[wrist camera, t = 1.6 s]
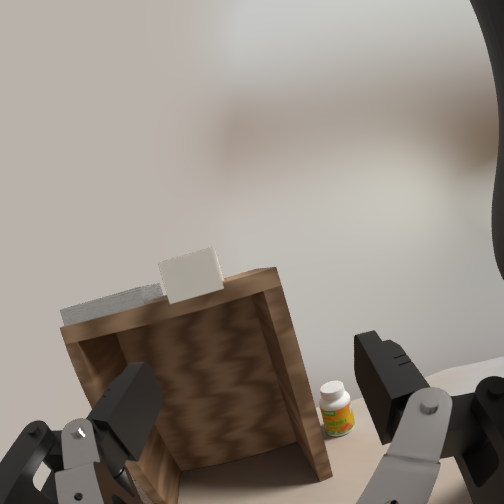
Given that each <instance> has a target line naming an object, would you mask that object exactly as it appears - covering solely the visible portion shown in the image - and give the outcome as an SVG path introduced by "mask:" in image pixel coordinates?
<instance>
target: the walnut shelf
mask: <svg viewBox="0 0 504 504" xmlns="http://www.w3.org/2000/svg"><path fill="white" fill-rule="evenodd" d="M222 283H223V286H224V289H221V290H218V291H214V292H211V293H207V294H204V295H200V296H197V297H193V298H190V299H186V300H183V301H179V302H176V303H172V304H170V303H169V300H168V297H167V295H166V296H163V297H161V298H159V299H157V300H155V301H153V302H150V303H148V304H146V305H143V306H140V307H136V308H133V309H129V310H125V311H122V312H118V313H114V314H110V315H107V316H103V317H99V318H95V319H91V320H88V321H84V322H80V323H76V324H72V325H68V326H64V327H61V328H60V330H61V333H62V336H63V339H64V342H65V345H66V348H67V351H68V354H69V356H70V359H71V362H72V364H73V367H74V369H75V372H76V374H77V377H78V379H79V381H80V383H81V386H82V388H83V390H84V393H85V395H86V397H87V399H88V401H89V403H90V405H91V407H92V409H93V408H94V406H95V405H96V403H97V402H98V400H99V399H100V397H102V395H103V393H104V392H105V391H107V387H108V386H109V385H110V383H111V382H112V381H113V380H114V379H115V378H116V377H118V376H119V375H120V374H122V372H123V371H124V369H125V368H126V367H127V365H128V364H129V363H136V362H147V363H148V364H149V365H150V366H151V368H152V371H153V373H154V375H155V377H156V379H157V381H158V383H159V385H160V388H161V390H162V392H163V404H162V407H161V409H160V412H159V414H158V416H157V419H156V421H155V423H154V426H153V428H152V430H151V433H150V435H149V438H148V440H147V442H146V445H145V447H144V449H143V452H142V454H141V457H140V459H139V462H135V461H130V460H126V462H125V465H126V467H127V468H128V470H129V472H130V473H131V474H132V476H133V477H134V479H135V480H136V481H137V483H138V484H139V485H140V487H141V488H142V489H143V491H144V492H145V493H146V494H147V496H148V497H149V498H150V499H151V501H152V502H153V503H157V504H178V495H179V486H180V477H181V471H184V470H190V469H196V468H202V467H207V466H212V465H217V464H222V463H226V462H231V461H235V460H239V459H243V458H247V457H250V456H254V455H257V454H261V453H264V452H267V451H270V450H274V449H277V448H280V447H283V446H286V445H288V444H291V443H294V442H298V444H299V446H300V448H301V449H302V451H303V453H304V455H305V457H306V458H307V460H308V462H309V464H310V465H311V467H312V469H313V470H314V472H315V474H316V476H317V477H318V479H319V481H320V482H321V481H323V480H326V479H328V478H330V477H333V475H332V471H331V467H330V463H329V459H328V455H327V451H326V447H325V443H324V439H323V435H322V431H321V427H320V423H319V419H318V415H317V412H316V408H315V404H314V400H313V397H312V393H311V389H310V385H309V382H308V378H307V374H306V371H305V367H304V364H303V360H302V356H301V352H300V349H299V345H298V342H297V338H296V335H295V331H294V328H293V324H292V321H291V317H290V313H289V310H288V306H287V303H286V299H285V296H284V292H283V289H282V285H281V282H280V279H279V275H278V272H277V269H276V267H272V268H271V267H270V268H261V269H254V270H251V271H248V272H244V273H241V274H238V275H234V276H231V277H228V278H224V281H222Z"/></svg>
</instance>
